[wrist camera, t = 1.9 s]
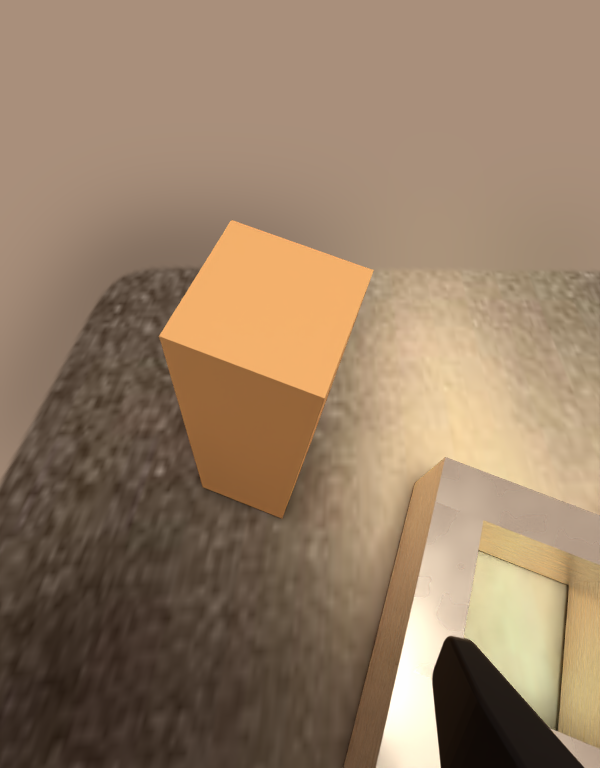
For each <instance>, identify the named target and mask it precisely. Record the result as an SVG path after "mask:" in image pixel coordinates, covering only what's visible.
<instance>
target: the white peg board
mask: <svg viewBox="0 0 600 768" xmlns="http://www.w3.org/2000/svg"><path fill="white" fill-rule="evenodd" d="M478 550H480V551H482V552H485V553H487V554H490V555H492V556H495V557H498V558H500V559H503V560H505V561H508V562H510V563H513V564H516V565H518V566H521V567H523V568H526V569H528V570H531V571H533V572H536V573H539V574H541V575H544V576H546V577H549V578H551V579H554V580H557V581H559V582H562V583H564V584H567V585H569V595H568V608H567V621H566V633H565V646H564V659H563V672H562V685H561V698H560V711H559V724H558V731H555V730H553V729H551V728H550V729H551V730H552V731H553V733H554V734H555V735H556V736H557V737H558V738H559V739H560V740H561V742H562V743H563V744H564V745H565V746H566V747H567V748H568V749H569V751H570V752H571V753H572V754H573V755H574V756H575V757H576V758H577V760H578V761H579V762H580V763H581V764H582V765H583V766H584V767H585V768H600V515H597V514H594V513H592V512H589V511H586V510H584V509H581V508H579V507H576V506H573V505H571V504H568V503H565V502H563V501H560V500H557V499H555V498H552V497H549V496H547V495H544V494H542V493H539V492H536V491H534V490H531V489H528V488H526V487H523V486H520V485H518V484H515V483H512V482H510V481H507V480H505V479H502V478H499V477H497V476H494V475H491V474H489V473H486V472H483V471H481V470H478V469H475V468H473V467H470V466H467V465H465V464H462V463H460V462H457V461H454V460H452V459H449V458H446V457H445V458H444V459H443V460H441V461H440V462H439V463H438V464H437V465H435V466H434V467H433V468H432V469H431V470H430V471H428V472H427V473H426V474H425V475H424V476H422V477H421V478H420V479H419V480H418V481H416V482H415V484H414V488H413V492H412V496H411V500H410V504H409V508H408V512H407V516H406V520H405V524H404V528H403V532H402V536H401V540H400V544H399V548H398V552H397V556H396V560H395V564H394V568H393V572H392V576H391V580H390V584H389V588H388V592H387V596H386V600H385V604H384V608H383V612H382V616H381V620H380V624H379V628H378V632H377V636H376V640H375V644H374V648H373V652H372V656H371V660H370V664H369V668H368V672H367V676H366V680H365V684H364V688H363V692H362V696H361V700H360V704H359V708H358V712H357V716H356V720H355V724H354V728H353V732H352V736H351V740H350V744H349V748H348V752H347V756H346V760H345V764H344V768H441V766H440V756H439V746H438V736H437V727H436V717H435V707H434V697H433V688H432V675H433V670H434V667H435V664H436V661H437V659H438V656H439V653H440V650H441V648H442V645H443V642H444V640H445V639H446V638H447V637H448V636H455V637H460V638H463V637H464V632H465V626H466V620H467V614H468V608H469V602H470V596H471V590H472V585H473V579H474V573H475V567H476V561H477V555H478Z"/></svg>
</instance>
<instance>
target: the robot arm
mask: <svg viewBox="0 0 600 768" xmlns="http://www.w3.org/2000/svg"><path fill="white" fill-rule="evenodd" d="M432 688H433V697H434V707H435V717H436V727H437V736H438V746H439V756H440V766H441V768H585V767H584V766H583V765H582V764H581V763H580V762H579V761H578V760H577V758H576V757H575V756H574V755H573V754H572V753H571V752H570V751H569V749H568V748H567V747H566V746H565V745H564V744H563V743H562V742H561V740H560V739H559V738H558V737H557V736H556V735H555V734H554V733H553V731H552V730H551V729H550V728H549V727H548V726H547V725H546V724H545V722H544V721H543V720H542V719H541V718H540V717H539V716H538V715H537V713H536V712H535V711H534V710H533V709H532V708H531V707H530V706H529V704H528V703H527V702H526V701H525V700H524V699H523V698H522V697H521V695H520V694H519V693H518V692H517V691H516V690H515V689H514V688H513V686H512V685H511V684H510V683H509V682H508V681H507V680H506V679H505V677H504V676H503V675H502V674H501V673H500V672H499V671H498V670H497V668H496V667H495V666H494V665H493V664H492V663H491V662H490V661H489V659H488V658H487V657H486V656H485V655H484V654H483V653H482V652H481V650H480V649H479V648H478V647H477V646H476V645H475V644H474V643H473V642H472V641H471V640H469V639H465V638H460V637H455V636H448V637H447V638H446V639H445V640H444V642H443V645H442V648H441V650H440V653H439V656H438V659H437V661H436V664H435V667H434V670H433V675H432Z"/></svg>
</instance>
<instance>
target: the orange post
mask: <svg viewBox="0 0 600 768" xmlns="http://www.w3.org/2000/svg"><path fill="white" fill-rule="evenodd" d="M373 271H374V270H371V269H369V268H366V267H363V266H360V265H357V264H354V263H352V262H349V261H346V260H343V259H340V258H337V257H335V256H331V255H329V254H326V253H323V252H320V251H318V250H315V249H312V248H309V247H306V246H304V245H301V244H298V243H295V242H292V241H289V240H286V239H284V238H281V237H278V236H275V235H272V234H269V233H267V232H264V231H261V230H258V229H255V228H252V227H250V226H247V225H244V224H241V223H238V222H236V221H233V220H231V222H230V223H229V225H228V226H227V228H226V230H225V231H224V233H223V234H222V236H221V238H220V239H219V241H218V242H217V244H216V246H215V247H214V249H213V250H212V252H211V254H210V255H209V257H208V258H207V260H206V262H205V264H204V265H203V266H202V268H201V270H200V271H199V273H198V275H197V276H196V278H195V279H194V281H193V283H192V284H191V286H190V287H189V289H188V291H187V292H186V294H185V295H184V297H183V299H182V300H181V302H180V304H179V305H178V307H177V308H176V310H175V312H174V313H173V315H172V316H171V318H170V320H169V321H168V323H167V324H166V326H165V328H164V329H163V331H162V332H161V334H160V336H159V337H160V341H161V344H162V348H163V351H164V354H165V358H166V361H167V365H168V368H169V372H170V375H171V379H172V382H173V386H174V389H175V393H176V396H177V399H178V403H179V406H180V410H181V413H182V417H183V420H184V424H185V427H186V431H187V434H188V438H189V441H190V444H191V448H192V451H193V455H194V458H195V462H196V465H197V469H198V472H199V476H200V479H201V483H202V486H203V487H204V488H206V489H209V490H211V491H214V492H216V493H219V494H221V495H224V496H226V497H229V498H231V499H234V500H236V501H239V502H242V503H244V504H247V505H249V506H252V507H254V508H257V509H259V510H262V511H264V512H267V513H269V514H272V515H274V516H277V517H279V518H283V515H284V513H285V510H286V507H287V505H288V502H289V499H290V497H291V494H292V491H293V489H294V486H295V483H296V481H297V478H298V475H299V473H300V470H301V467H302V465H303V462H304V460H305V457H306V454H307V452H308V449H309V446H310V444H311V441H312V438H313V435H314V433H315V430H316V427H317V424H318V422H319V419H320V416H321V413H322V411H323V408H324V405H325V403H326V400H327V397H328V394H329V392H330V389H331V386H332V383H333V381H334V378H335V375H336V372H337V370H338V367H339V364H340V361H341V359H342V356H343V353H344V350H345V348H346V345H347V342H348V339H349V337H350V334H351V331H352V328H353V326H354V323H355V320H356V317H357V315H358V312H359V309H360V306H361V304H362V301H363V298H364V295H365V293H366V290H367V287H368V284H369V282H370V279H371V276H372V273H373Z"/></svg>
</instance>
